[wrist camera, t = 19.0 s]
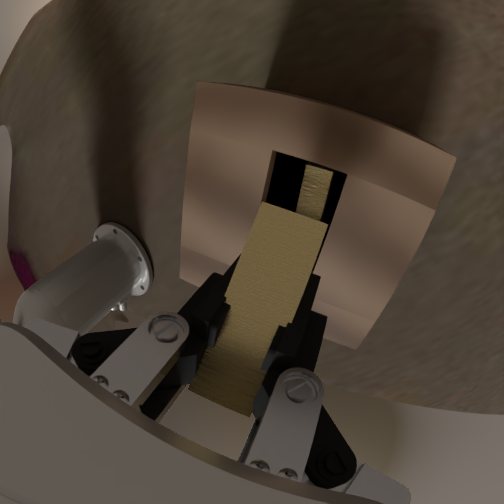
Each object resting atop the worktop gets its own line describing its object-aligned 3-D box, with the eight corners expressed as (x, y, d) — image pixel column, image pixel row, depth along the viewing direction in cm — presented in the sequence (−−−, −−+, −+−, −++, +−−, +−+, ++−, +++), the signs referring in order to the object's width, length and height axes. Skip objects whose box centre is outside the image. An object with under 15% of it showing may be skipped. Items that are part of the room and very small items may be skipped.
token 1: (316, 252, 13) (267, 374, 12) (275, 237, 13) (227, 358, 12) (328, 224, 8) (249, 417, 7) (262, 201, 8) (188, 389, 8)
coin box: (365, 268, 27) (356, 349, 18) (238, 221, 30) (179, 278, 21) (417, 136, 19) (456, 157, 10) (263, 88, 22) (197, 81, 13)
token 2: (338, 160, 23) (323, 219, 26) (317, 153, 23) (303, 213, 27) (333, 172, 19) (313, 242, 22) (306, 164, 19) (290, 235, 23)
